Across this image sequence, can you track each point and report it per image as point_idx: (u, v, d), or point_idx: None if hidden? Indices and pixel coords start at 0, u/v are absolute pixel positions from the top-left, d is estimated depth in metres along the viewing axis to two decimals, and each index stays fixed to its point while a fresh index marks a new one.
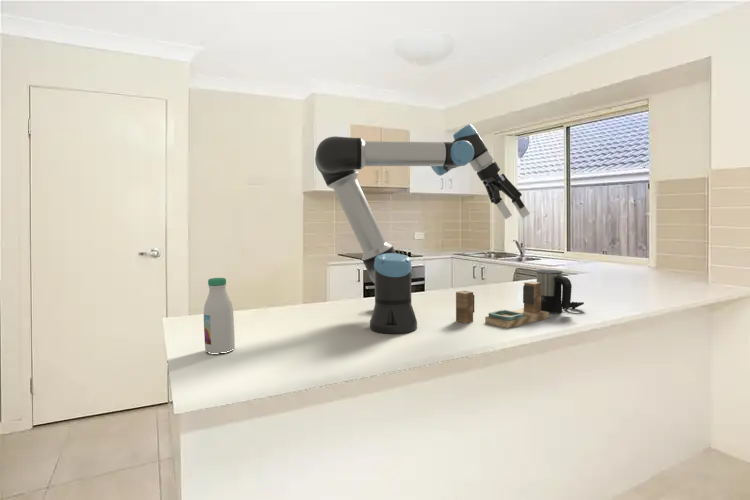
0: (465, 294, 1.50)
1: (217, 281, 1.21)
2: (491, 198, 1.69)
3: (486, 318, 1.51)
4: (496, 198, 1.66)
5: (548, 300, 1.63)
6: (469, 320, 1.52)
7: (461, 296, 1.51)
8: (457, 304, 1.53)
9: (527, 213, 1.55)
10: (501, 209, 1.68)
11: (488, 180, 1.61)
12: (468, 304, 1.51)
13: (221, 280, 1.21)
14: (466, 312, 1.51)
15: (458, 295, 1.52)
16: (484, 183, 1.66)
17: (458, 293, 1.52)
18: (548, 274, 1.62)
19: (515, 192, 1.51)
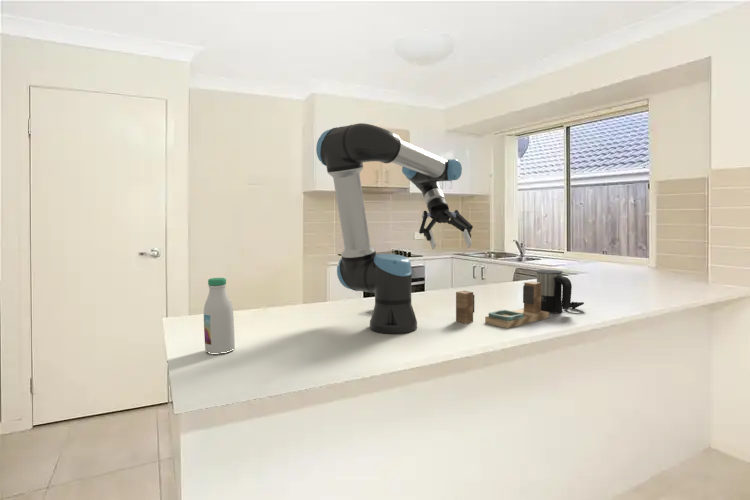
0: (465, 294, 1.50)
1: (217, 281, 1.21)
2: (424, 225, 1.64)
3: (486, 318, 1.51)
4: (430, 227, 1.65)
5: (548, 300, 1.63)
6: (469, 320, 1.52)
7: (461, 296, 1.51)
8: (457, 304, 1.53)
9: None
10: None
11: (436, 210, 1.70)
12: (468, 304, 1.51)
13: (221, 280, 1.21)
14: (466, 312, 1.51)
15: (458, 295, 1.52)
16: (426, 212, 1.68)
17: (458, 293, 1.52)
18: (548, 274, 1.62)
19: None
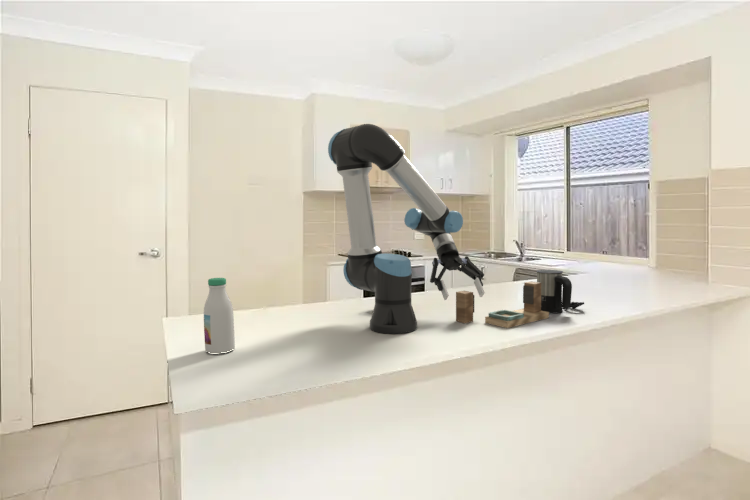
0: (465, 294, 1.50)
1: (217, 281, 1.21)
2: (435, 274, 1.59)
3: (486, 318, 1.51)
4: None
5: (548, 300, 1.63)
6: (469, 320, 1.52)
7: (461, 296, 1.51)
8: (457, 304, 1.53)
9: None
10: None
11: (446, 257, 1.65)
12: (468, 304, 1.51)
13: (221, 280, 1.21)
14: (466, 312, 1.51)
15: (458, 295, 1.52)
16: (436, 259, 1.63)
17: (458, 293, 1.52)
18: (548, 274, 1.62)
19: None
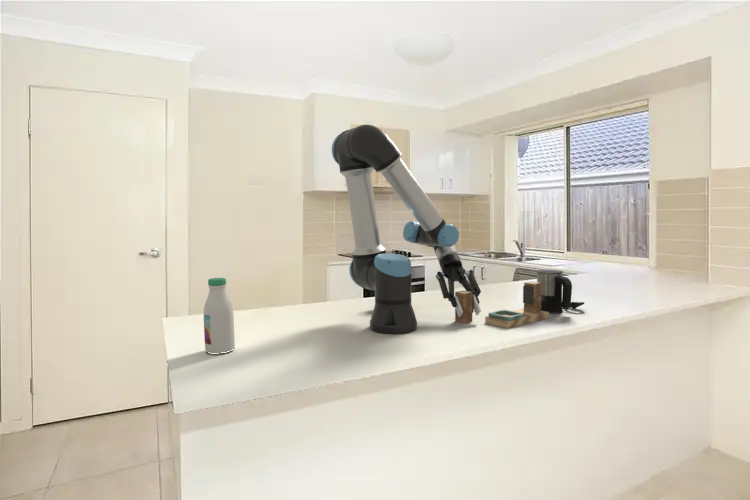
0: (464, 294, 1.50)
1: (217, 281, 1.21)
2: None
3: (486, 318, 1.51)
4: None
5: (549, 300, 1.63)
6: (468, 320, 1.52)
7: (460, 296, 1.51)
8: None
9: None
10: None
11: (448, 267, 1.60)
12: (467, 304, 1.51)
13: (221, 280, 1.21)
14: (465, 312, 1.51)
15: (457, 295, 1.52)
16: (440, 272, 1.57)
17: (457, 293, 1.52)
18: (548, 274, 1.62)
19: None
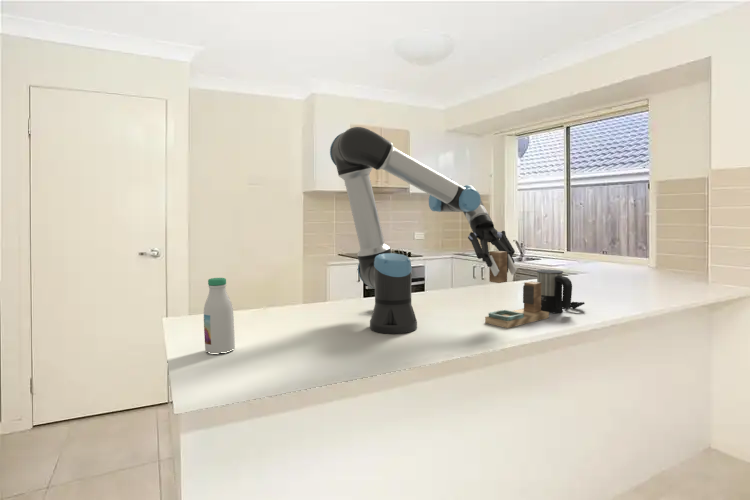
0: (499, 253, 1.47)
1: (217, 281, 1.21)
2: (481, 248, 1.50)
3: (486, 318, 1.51)
4: None
5: (549, 300, 1.63)
6: (503, 280, 1.49)
7: (495, 255, 1.48)
8: None
9: None
10: None
11: (480, 228, 1.57)
12: (502, 264, 1.48)
13: (221, 280, 1.21)
14: (500, 272, 1.48)
15: (492, 255, 1.49)
16: (473, 233, 1.54)
17: (492, 253, 1.49)
18: (549, 274, 1.62)
19: None
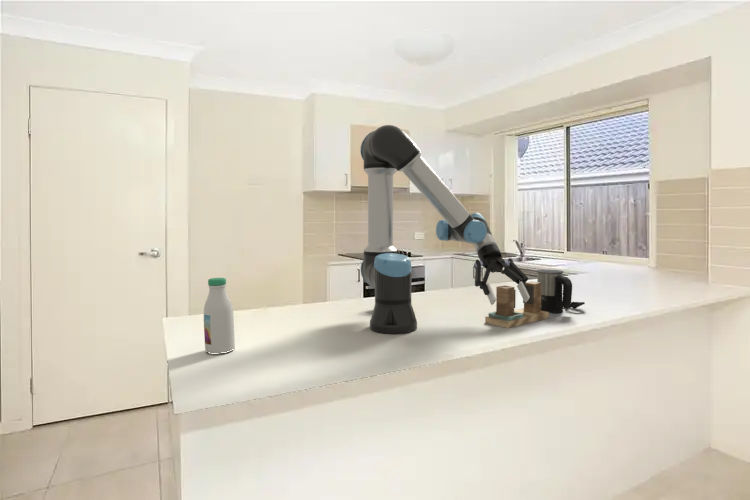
0: (506, 289, 1.47)
1: (217, 281, 1.21)
2: (480, 277, 1.50)
3: (486, 318, 1.51)
4: None
5: (549, 300, 1.63)
6: None
7: (502, 291, 1.48)
8: (498, 299, 1.50)
9: None
10: None
11: (488, 258, 1.56)
12: (509, 299, 1.48)
13: (221, 280, 1.21)
14: (507, 308, 1.48)
15: (499, 290, 1.49)
16: (478, 261, 1.55)
17: (499, 288, 1.49)
18: (549, 274, 1.63)
19: None
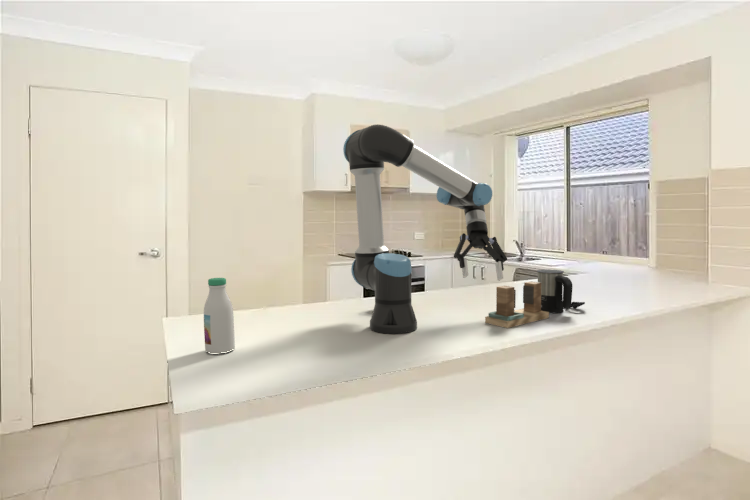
0: (506, 289, 1.47)
1: (217, 281, 1.21)
2: (460, 250, 1.62)
3: (486, 318, 1.51)
4: (466, 253, 1.63)
5: (549, 300, 1.63)
6: None
7: (502, 291, 1.48)
8: (498, 299, 1.50)
9: None
10: None
11: (475, 235, 1.67)
12: (509, 299, 1.48)
13: (221, 280, 1.21)
14: (507, 308, 1.48)
15: (499, 290, 1.49)
16: (464, 235, 1.65)
17: (499, 288, 1.49)
18: (549, 274, 1.63)
19: None
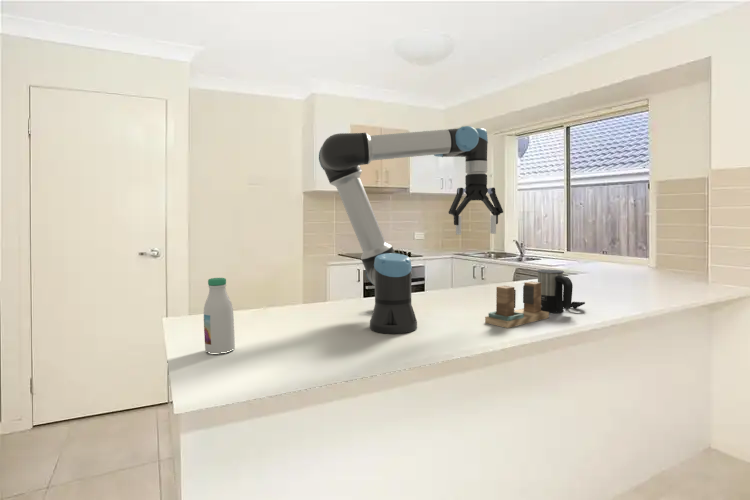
0: (506, 289, 1.47)
1: (217, 281, 1.21)
2: None
3: (486, 318, 1.51)
4: None
5: (549, 299, 1.63)
6: None
7: (502, 291, 1.48)
8: (498, 299, 1.50)
9: None
10: None
11: (473, 188, 1.60)
12: (509, 299, 1.48)
13: (221, 280, 1.21)
14: (507, 308, 1.48)
15: (499, 290, 1.49)
16: (462, 189, 1.59)
17: (499, 288, 1.49)
18: (549, 274, 1.63)
19: None
